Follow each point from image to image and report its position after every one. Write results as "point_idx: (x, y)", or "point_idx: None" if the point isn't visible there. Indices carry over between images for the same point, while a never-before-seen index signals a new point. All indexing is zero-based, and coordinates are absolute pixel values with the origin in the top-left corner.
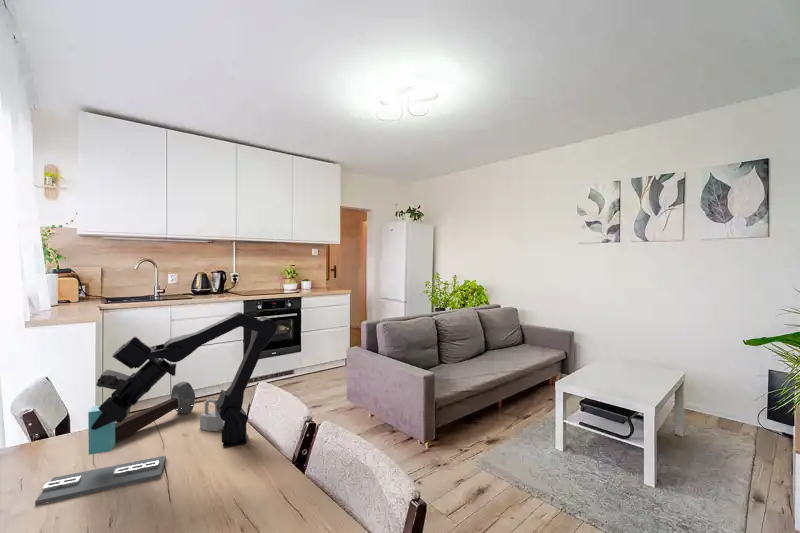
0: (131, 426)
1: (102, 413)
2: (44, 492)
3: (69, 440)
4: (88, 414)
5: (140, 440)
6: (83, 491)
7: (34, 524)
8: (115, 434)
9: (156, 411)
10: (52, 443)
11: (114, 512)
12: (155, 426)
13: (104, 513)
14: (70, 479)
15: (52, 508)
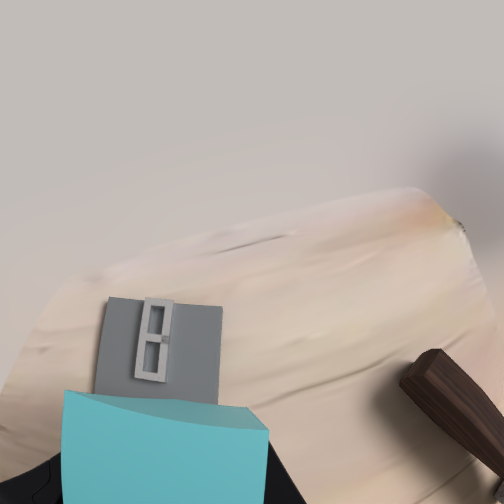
0: (460, 428)
1: (9, 482)
2: (139, 306)
3: (452, 273)
4: (78, 392)
5: (402, 469)
6: (94, 393)
7: (45, 315)
8: (432, 401)
9: (501, 463)
10: (442, 244)
11: (14, 437)
12: (468, 462)
13: (18, 423)
14: (159, 356)
15: (79, 337)
